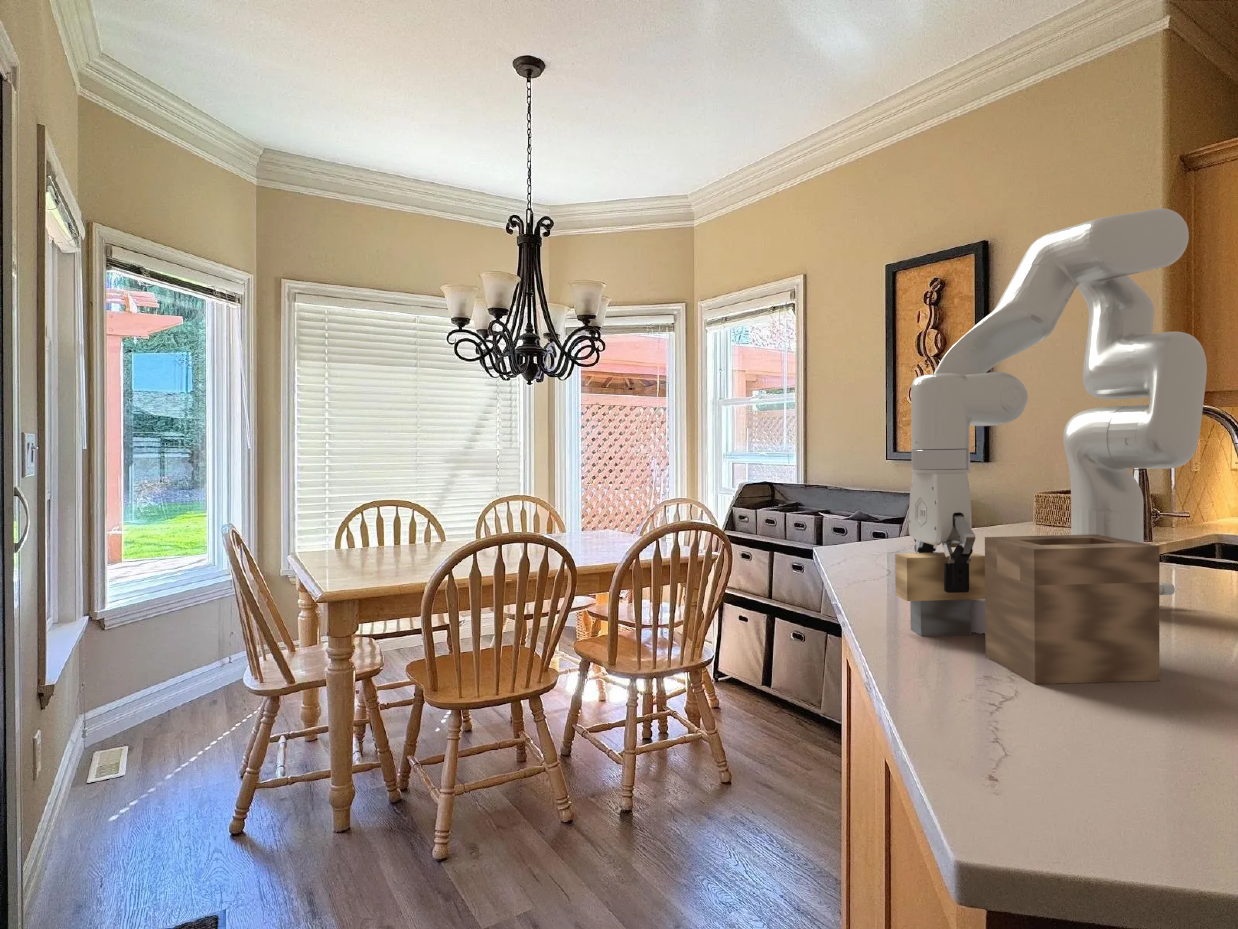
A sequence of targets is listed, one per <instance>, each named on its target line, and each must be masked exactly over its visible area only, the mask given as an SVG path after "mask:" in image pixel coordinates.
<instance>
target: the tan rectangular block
mask: <svg viewBox="0 0 1238 929" xmlns="http://www.w3.org/2000/svg"><path fill="white" fill-rule="evenodd" d="M970 557H971V562H970V563H969V591H968V592H964V593H947V592H945V591H944V563H948V562H947V559H946V556H945V553H944V551H943V552H940V551H939V552H938V553H919V552H911V553H910V552H909V553H907V552H906V553H900V552H899V553H895V554H894V560H895V561H894V563H895V564H894V566H895V570H894V571H895V574H894V575H895V579H894V580H895V596H896V597H898V598H900V599H902V600H904V601H906V602H910V608H909V610H910V630H911V631H912V632H913V633H915V634H916V635H919V636H920V637H935V636H936V637H937V636H941V637H942V636H968V634H969V636H971V635H970V634H972V632H971V599H985V554H984V555H983V554H980V553H977V552H974V551H973V552H972V554H971V556H970Z"/></svg>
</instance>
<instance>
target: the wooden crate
mask: <svg viewBox="0 0 1238 929" xmlns="http://www.w3.org/2000/svg"><path fill="white" fill-rule="evenodd" d="M984 556H985V634H984V635H985V636H984V638H985V657H986V656H987V657H989V658H991V659H992V660H991V659H990V660H991V661H993V662H995V661H996V662H998V663H999V664H998V663H997V664H998V665H1000V664H1001V665H1000V666H1002V665H1003V666H1002V667H1004V668H1005V667H1007V668H1008V669H1007V668H1006V669H1007V670H1009V671H1011V672H1012V671H1013V673H1015V674H1016V675H1018V676H1020V677H1021V678H1023V679H1025V680H1027V681H1029V682H1031V683H1033V684H1034V685H1048V684H1049V685H1050V684H1053V685H1054V684H1080V683H1081V684H1084V683H1085V684H1086V683H1089V684H1090V683H1117V682H1120V683H1121V682H1122V683H1123V682H1124V683H1125V682H1153V681H1154V682H1155V681H1157V682H1158V681H1160V595H1159V583H1160V545H1154V544H1150V543H1145V542H1143V543H1140V542H1134V541H1129V540H1123V539H1118V538H1113V537H1107V536H1102V535H1097V534H1090V535H1071V534H1064V535H1063V534H1058V535H1056V534H1055V535H1054V534H1052V535H1050V534H1049V535H1018V536H1017V535H1015V536H1014V535H1013V536H984ZM987 657H986V658H987ZM989 658H988V659H989ZM996 662H995V663H996Z"/></svg>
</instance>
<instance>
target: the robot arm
mask: <svg viewBox="0 0 1238 929" xmlns="http://www.w3.org/2000/svg"><path fill="white" fill-rule="evenodd" d="M1189 234H1190V232H1189V226H1188V224H1187V222H1186V221H1185V220H1184V218H1183V217H1182V216H1181V215H1180V214H1179V213H1178V212H1176V210H1175V211H1174V210H1172V209H1170V208H1163V207H1162V208H1161V207H1160V208H1152V209H1148V210H1147V209H1146V210H1140V211H1136V212H1129V213H1123V214H1115V215H1109V216H1108V215H1107V216H1104V217H1103V216H1102V217H1099V218H1095V219H1091V220H1088V221H1087V220H1086V221H1084V222H1081V223H1077V224H1074V225H1071V226H1068V227H1064V228H1061V229H1057V230H1055V231H1051V232H1048V233H1047V234H1044V235H1042V236H1040V237H1038V238H1037V239H1036V240H1034V241H1033V242H1032V243H1031V244H1030V246H1029V247H1028V248H1027V250H1026V252H1025V253H1024V255H1023V256H1022V259H1021V261H1020V262H1019V264H1018V266H1017V268H1016V270H1015V272H1014V273H1013V275H1012V277H1011V279H1010V281H1009V283H1008V285H1007V286H1006V287H1005V290H1004V292H1003V293H1002V295H1001V297H1000V299H999V300H998V302H997V304H996V306H995V307H994V309H993V310H992V311H991V312H990V313H989V314H987V315H986V316H985V317H984V318H982V319H981V320H980V321H979V322H978V323H976V324H975V325H974V326H973V327H972V328H971V329H969V331H968V332H966V333H965V334H964V335H963V336H961V338H959V339H958V340H957V341H956V342H954V344H953V345H951V347H950V348H949V349H948V350H947V352H945V354H944V356H942V358H941V360H940V362H939V364H938V365H937V367H936V369H935V370H934V372H933V373H930V374H924V375H919V376H917V377H915V378H914V379H913V381H912V383H911V386H910V413H911V414H910V416H911V418H910V424H911V425H910V428H911V429H910V431H911V434H910V435H911V437H910V438H911V439H910V440H911V444H910V445H911V449H910V450H911V452H910V453H911V473H912V476H911V483H910V488H909V489H910V492H909V508H908V535H909V536H910V537H911V538H912V539H913V540H914V545H913V546H914V547H913V548H914V549H913V550H914V553H939V552H938V551H937V547H938V546H940V545H942V549H943V552H944V553H945V556H946V559H947V562H948V563H944V591H945V592H947V593H964V592H968V591H969V563H970V562H971V557H970V556H971V554H972V552H974V544H975V541H976V533H974V531H973V529H972V520H973V519H972V505H971V504H972V501H971V490H970V484H969V483H970V482H969V476H968V474H969V473H971V431H970V430H971V427H991V426H1000V425H1004V424H1009V423H1011V422H1013V421H1014V420H1016V419H1018V418H1019V417H1020V416H1021V415H1022V414H1023V412H1024V411H1025V410H1026V407H1027V404H1028V399H1029V398H1028V397H1029V396H1028V391H1027V388H1026V386H1025V384H1024V383H1023V382H1022V381H1021V380H1020V379H1019V378H1017V377H1016V376H1014V375H1013V374H1010V373H1008V372H1003V371H994V372H992V371H991V372H989V371H990V370H991V369H993V368H994V367H995V366H997V365H998V364H999V363H1001V362H1003V361H1005V360H1007V359H1009V358H1011V357H1013V356H1016V355H1017V354H1020V353H1022V352H1024V351H1027V349H1030V348H1031V347H1033V346H1035V345H1037V344H1038V343H1041V342H1042V341H1044V340H1045V339H1046V338H1048V337H1049V336H1050V335H1051V334H1052V332H1053V331H1054V330H1055V328H1056V326H1057V323H1058V322H1059V320H1060V318H1061V316H1062V314H1063V312H1064V311H1065V308H1066V307H1067V304H1068V302H1069V301H1070V299H1071V297H1072V295H1073V294H1074V292H1075V290H1076V289H1077V290H1078V291H1079V292H1080V294H1081V296H1082V297H1083V299H1084V302H1085V303H1086V306H1087V310H1088V328H1087V334H1086V335H1087V336H1086V344H1085V350H1084V359H1083V360H1084V361H1083V367H1082V384H1083V389H1084V390H1085V392H1087V394H1088V395H1090V396H1092V397H1093V398H1096V399H1100V400H1127V399H1141V398H1142V399H1144V398H1149V404H1142V405H1140V404H1139V405H1117V406H1101V407H1093V408H1089V409H1085V410H1082V411H1080V412H1078V413H1076V414H1074V415H1073V416H1072V417H1070V419H1069V420H1068V421H1067V422H1066V424H1065V426H1064V429H1063V433H1062V434H1063V435H1062V441H1063V448H1064V452H1065V456H1066V459H1067V460H1066V462H1067V466H1068V472H1069V480H1070V515H1071V517H1070V524H1071V525H1070V535H1090V534H1097V535H1102V536H1107V537H1113V538H1118V539H1123V540H1129V541H1134V542H1140V543H1144V510H1145V509H1144V505H1145V504H1144V495H1143V492H1142V489H1141V487H1140V485H1139V483H1138V481H1137V480H1136V477H1134V475H1133V474H1132V472H1131V471H1130V469H1147V470H1149V469H1151V470H1152V469H1155V470H1156V469H1159V470H1160V469H1161V470H1163V469H1164V470H1165V469H1175V468H1178V467H1179V468H1180V467H1182V466H1184V465H1186V464H1187V463H1189V461H1190V460H1192V458H1193V456H1194V455H1195V453H1196V451H1197V448H1198V444H1199V440H1200V433H1201V426H1202V418H1203V409H1204V403H1205V402H1204V400H1205V391H1206V385H1207V377H1208V376H1207V372H1208V367H1207V366H1208V365H1207V363H1208V362H1207V357H1206V353H1205V350H1204V348H1203V345H1201V342H1200V341H1199V340H1198V339H1197V338H1196V337H1195V336H1194V335H1191V333H1190V334H1189V333H1186V332H1183V331H1164V332H1158V333H1157V332H1156V333H1153V329H1154V317H1155V310H1154V309H1155V308H1154V305H1153V304H1154V303H1153V301H1152V299H1151V298H1150V296H1149V295H1148V293H1147V292H1146V291H1145V290H1144V289H1143V288H1142V287H1141V286H1140V285H1139V284H1138V283H1137V282H1135V281H1134V279H1132V277H1130V275H1134V274H1135V275H1136V274H1139V273H1143V272H1144V273H1145V272H1148V271H1152V270H1158V269H1163V268H1167V267H1169V266H1171V265H1172V264H1174V263H1176V262H1177V261H1178V260H1179V259H1180V258H1182V256H1183V255H1184V252H1186V249H1187V247H1188V244H1189V240H1190V235H1189ZM952 548H954V550H953V549H952ZM936 551H937V552H936ZM1175 588H1176V587H1175V585H1174V584H1173V583H1172V582H1159V596H1172V595H1174V593H1175V591H1176V589H1175Z"/></svg>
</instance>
